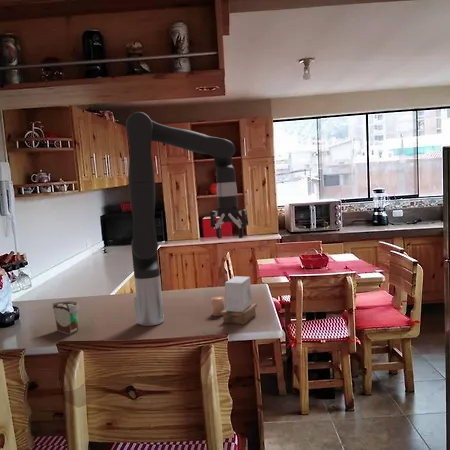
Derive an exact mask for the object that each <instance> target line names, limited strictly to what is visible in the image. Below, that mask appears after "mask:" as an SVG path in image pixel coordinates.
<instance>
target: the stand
mask: <svg viewBox="0 0 450 450" xmlns="http://www.w3.org/2000/svg"><path fill="white" fill-rule="evenodd" d="M257 307H258V304H257V303H251V305H250V306H249V307H248V308H246V309H245V310H244V311H243V312H232V311H226V308H225V310H223V311H222V312H221V316H223V317H222V318H223V323H224V324H225V323H226V324H237V325H240V324H242V325H245V324H247V323H248V322H249V321H251V319H253V318H254V317H255V316H256V308H257Z"/></svg>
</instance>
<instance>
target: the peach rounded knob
mask: <svg viewBox="0 0 450 450" xmlns="http://www.w3.org/2000/svg"><path fill="white" fill-rule="evenodd" d="M210 305H211V313H212V316H215V317H220V316H222V315H221V312H222V311H223V310H225V309H226V301H225V297H224V296H214V297H211V298H210Z"/></svg>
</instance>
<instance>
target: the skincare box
mask: <svg viewBox="0 0 450 450" xmlns="http://www.w3.org/2000/svg"><path fill="white" fill-rule="evenodd" d="M251 288H252V286H251V276H240V275H239V276H237V275H235V276H233V277H232V278H230V279H229V280H227V281H225V282H224V291H225V309H226V311H232V312H243V311H244V310H245V309H246V308H248V307H249V306H250V305H251V304H252V289H251Z"/></svg>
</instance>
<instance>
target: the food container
mask: <svg viewBox="0 0 450 450" xmlns="http://www.w3.org/2000/svg"><path fill="white" fill-rule="evenodd" d="M52 309H53V314H54V318H55V326H56V331H57V332H60V333H64V334H66V335H71V336H72V335H75V334H76V333H78V331H79V316H78V315H79V314H78V313H79V312H78V311H79V310H80V306H79V304H78V302H77V301H73V300H72V301H71V300H70V301H67V300H65V301H58V302H54V303H52Z"/></svg>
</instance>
